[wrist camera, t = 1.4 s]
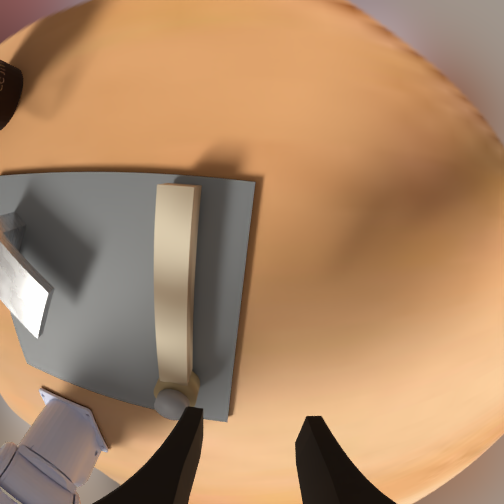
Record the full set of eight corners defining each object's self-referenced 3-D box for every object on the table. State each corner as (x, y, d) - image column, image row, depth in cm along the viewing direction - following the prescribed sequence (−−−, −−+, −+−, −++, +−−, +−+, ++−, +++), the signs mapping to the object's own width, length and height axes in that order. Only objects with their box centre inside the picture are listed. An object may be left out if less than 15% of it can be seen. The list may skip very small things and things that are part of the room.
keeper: (77, 273, 17) (48, 292, 14) (61, 316, 18) (37, 338, 15) (14, 211, 16) (-16, 220, 12) (4, 257, 17) (-23, 270, 13)
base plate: (227, 417, 21) (224, 453, 17) (29, 360, 21) (10, 381, 17) (255, 181, 16) (255, 184, 12) (-1, 175, 15) (-33, 180, 11)
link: (200, 396, 20) (196, 414, 18) (162, 389, 20) (155, 406, 18) (212, 186, 15) (205, 188, 13) (159, 182, 15) (146, 183, 13)
